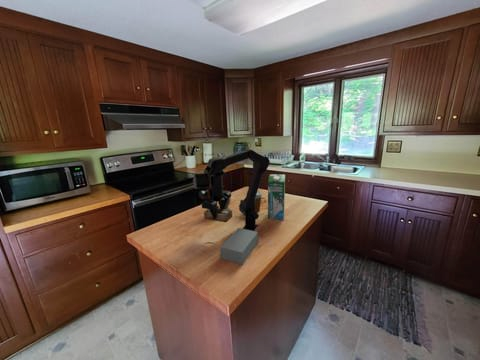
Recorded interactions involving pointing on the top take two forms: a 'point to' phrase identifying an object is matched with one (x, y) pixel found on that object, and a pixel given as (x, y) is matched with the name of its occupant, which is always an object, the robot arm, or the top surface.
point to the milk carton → (276, 196)
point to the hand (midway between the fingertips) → (218, 215)
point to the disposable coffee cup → (258, 201)
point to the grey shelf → (239, 246)
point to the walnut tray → (219, 215)
